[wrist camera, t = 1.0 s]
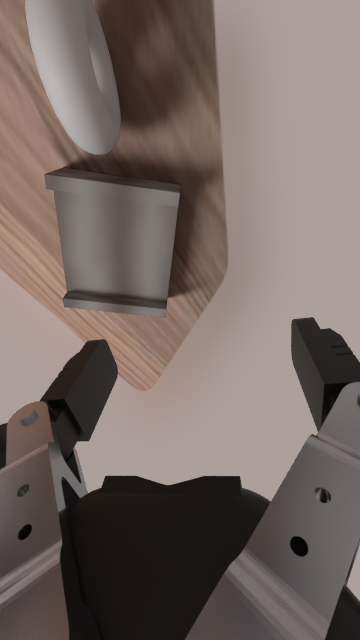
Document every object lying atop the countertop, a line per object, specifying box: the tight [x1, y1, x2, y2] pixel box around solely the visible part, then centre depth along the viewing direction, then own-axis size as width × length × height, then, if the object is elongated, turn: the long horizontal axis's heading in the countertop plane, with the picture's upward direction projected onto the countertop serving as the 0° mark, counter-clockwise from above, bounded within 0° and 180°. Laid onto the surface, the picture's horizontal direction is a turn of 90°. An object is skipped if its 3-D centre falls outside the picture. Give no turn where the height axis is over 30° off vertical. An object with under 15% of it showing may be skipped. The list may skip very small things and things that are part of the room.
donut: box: [25, 0, 121, 155], centre depth 19 cm, size 10×3×10 cm, turn 7°
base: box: [44, 168, 180, 318], centre depth 30 cm, size 12×14×4 cm
